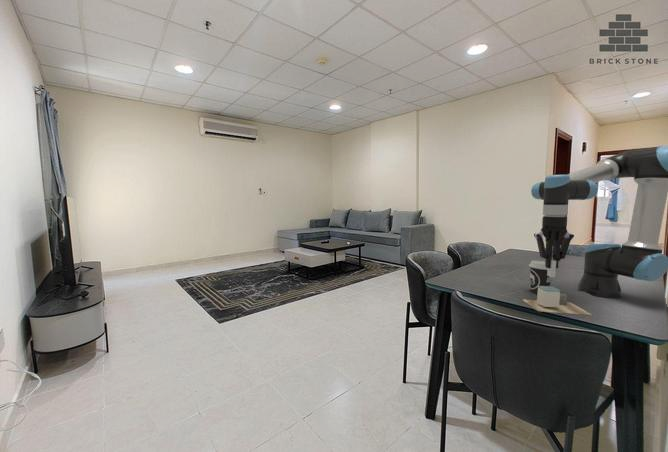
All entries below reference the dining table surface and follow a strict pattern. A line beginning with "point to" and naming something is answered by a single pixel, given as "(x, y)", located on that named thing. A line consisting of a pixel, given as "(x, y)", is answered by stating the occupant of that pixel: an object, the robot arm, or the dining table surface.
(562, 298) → the post short
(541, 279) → the coffee cup
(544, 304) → the white and green block
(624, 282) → the dining table surface
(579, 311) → the board
